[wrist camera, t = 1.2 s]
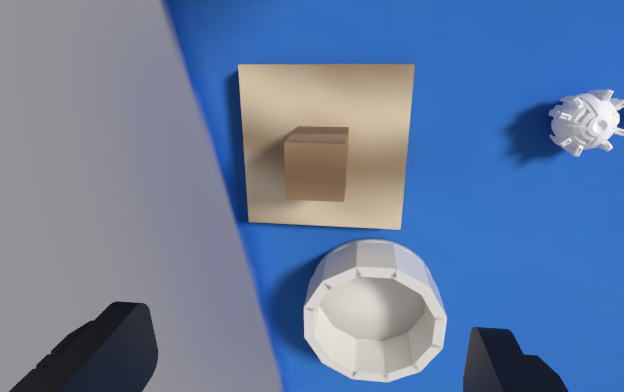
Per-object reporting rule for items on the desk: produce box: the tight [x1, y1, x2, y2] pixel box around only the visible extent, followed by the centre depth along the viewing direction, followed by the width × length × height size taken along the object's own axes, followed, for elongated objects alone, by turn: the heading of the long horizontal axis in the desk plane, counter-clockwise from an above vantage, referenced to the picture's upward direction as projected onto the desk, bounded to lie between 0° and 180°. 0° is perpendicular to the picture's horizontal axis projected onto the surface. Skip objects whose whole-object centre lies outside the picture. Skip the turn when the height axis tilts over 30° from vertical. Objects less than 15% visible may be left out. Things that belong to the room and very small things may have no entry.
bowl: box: [304, 238, 447, 382], centre depth 26 cm, size 9×9×4 cm
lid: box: [238, 64, 415, 230], centre depth 22 cm, size 10×10×6 cm
